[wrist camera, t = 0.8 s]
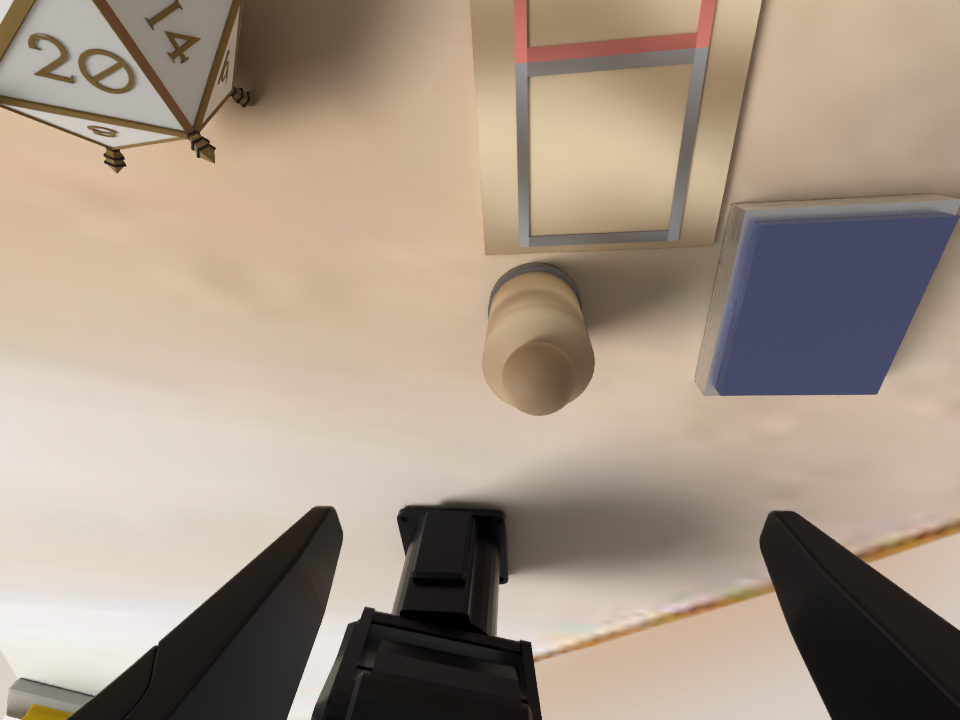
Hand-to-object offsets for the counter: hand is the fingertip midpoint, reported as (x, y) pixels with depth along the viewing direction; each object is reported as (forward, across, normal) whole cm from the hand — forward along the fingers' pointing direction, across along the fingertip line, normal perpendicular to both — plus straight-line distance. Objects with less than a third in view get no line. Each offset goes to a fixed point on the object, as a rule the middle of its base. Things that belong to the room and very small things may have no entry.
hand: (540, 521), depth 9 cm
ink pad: (+12, -11, 0) cm, 16 cm away
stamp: (+12, 0, 0) cm, 12 cm away
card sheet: (+12, -3, -9) cm, 15 cm away
